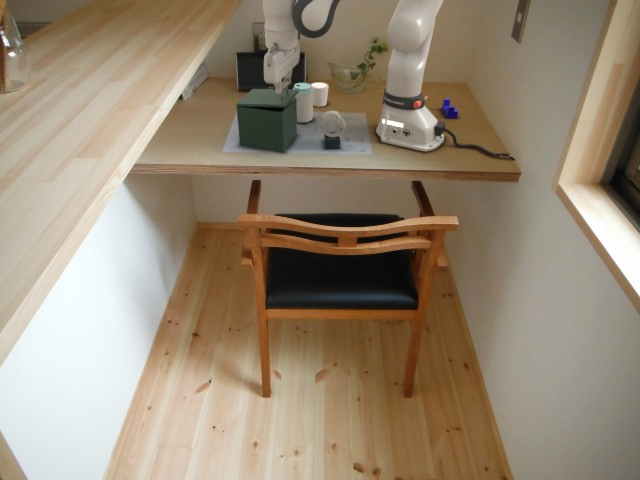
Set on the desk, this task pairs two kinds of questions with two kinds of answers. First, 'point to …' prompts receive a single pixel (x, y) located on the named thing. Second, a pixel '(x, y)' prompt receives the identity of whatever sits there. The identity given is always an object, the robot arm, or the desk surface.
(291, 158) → the desk surface
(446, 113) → the cable holder
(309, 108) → the can
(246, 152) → the desk surface
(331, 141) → the watch
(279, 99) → the lid
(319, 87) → the white cup
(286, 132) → the trash can
